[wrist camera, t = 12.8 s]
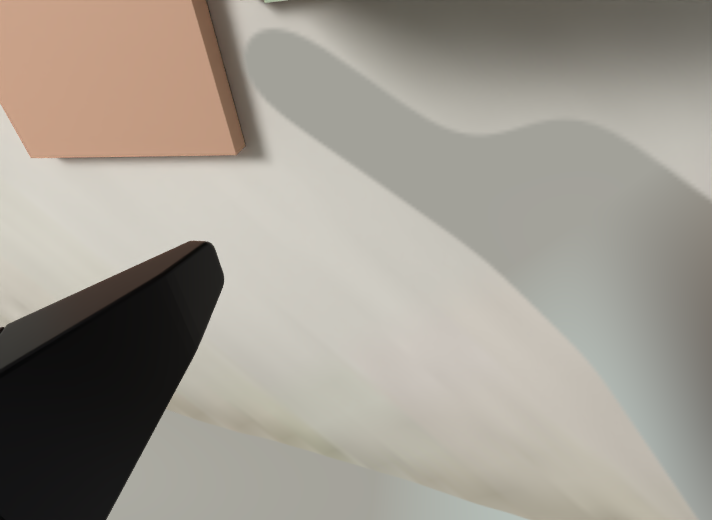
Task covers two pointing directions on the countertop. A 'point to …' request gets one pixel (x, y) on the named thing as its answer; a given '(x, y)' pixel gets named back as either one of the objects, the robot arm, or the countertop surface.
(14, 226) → the countertop surface
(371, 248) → the countertop surface
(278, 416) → the countertop surface
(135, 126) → the green and salmon panel
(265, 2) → the brown wooden block
